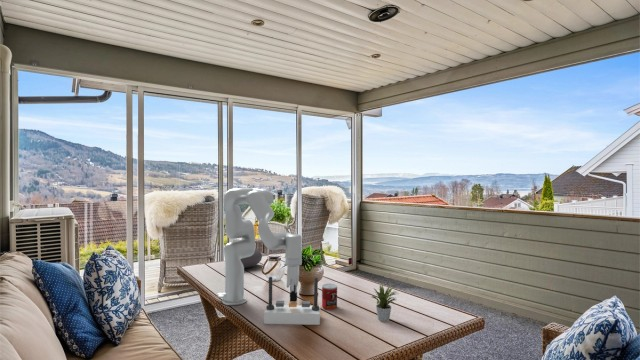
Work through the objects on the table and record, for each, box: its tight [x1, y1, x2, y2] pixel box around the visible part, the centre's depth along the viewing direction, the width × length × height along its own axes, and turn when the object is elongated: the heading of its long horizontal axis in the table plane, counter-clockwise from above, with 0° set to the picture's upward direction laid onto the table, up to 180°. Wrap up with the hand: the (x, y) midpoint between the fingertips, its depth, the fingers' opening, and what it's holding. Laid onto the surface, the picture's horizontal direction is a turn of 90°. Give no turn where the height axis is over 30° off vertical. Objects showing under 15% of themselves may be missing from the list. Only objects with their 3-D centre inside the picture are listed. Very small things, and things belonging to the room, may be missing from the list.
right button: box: [301, 300, 311, 307], centre depth 169 cm, size 4×4×2 cm
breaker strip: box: [263, 304, 321, 326], centre depth 169 cm, size 25×10×5 cm, turn 89°
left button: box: [275, 300, 285, 307], centre depth 169 cm, size 4×4×2 cm
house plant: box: [370, 284, 399, 323], centre depth 169 cm, size 14×14×16 cm
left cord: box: [265, 276, 275, 310], centre depth 169 cm, size 4×4×15 cm
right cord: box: [311, 277, 321, 311], centre depth 169 cm, size 4×4×15 cm
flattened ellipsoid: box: [241, 247, 263, 269], centre depth 265 cm, size 25×25×15 cm
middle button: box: [288, 300, 298, 307], centre depth 169 cm, size 4×4×2 cm
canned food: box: [321, 283, 338, 311], centre depth 186 cm, size 8×8×11 cm
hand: (293, 300), depth 169 cm, fingers closed
